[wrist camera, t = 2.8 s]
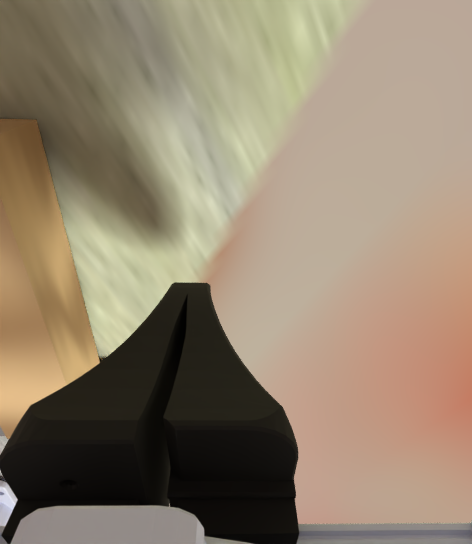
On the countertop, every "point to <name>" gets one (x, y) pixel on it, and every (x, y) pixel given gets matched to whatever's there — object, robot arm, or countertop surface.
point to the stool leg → (35, 281)
